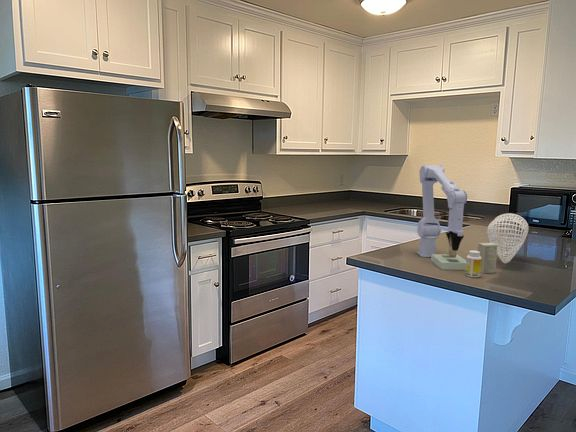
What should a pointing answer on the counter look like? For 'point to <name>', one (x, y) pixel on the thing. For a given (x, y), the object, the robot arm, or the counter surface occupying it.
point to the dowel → (451, 252)
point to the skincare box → (488, 257)
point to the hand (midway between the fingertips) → (453, 249)
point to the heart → (513, 219)
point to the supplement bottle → (473, 264)
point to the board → (448, 262)
